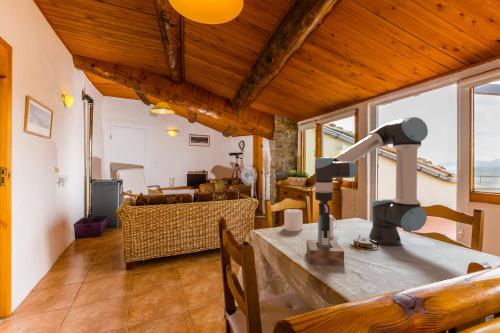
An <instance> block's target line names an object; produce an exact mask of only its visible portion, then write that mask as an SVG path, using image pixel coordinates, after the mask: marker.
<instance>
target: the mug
mask: <svg viewBox="0 0 500 333" xmlns="http://www.w3.org/2000/svg"><path fill="white" fill-rule="evenodd" d="M329 216H330V239H331V238H334V230H335V229H336V227H337V219H336V218H335V217H334V215H332V214H329ZM334 221H335V225H334Z"/></svg>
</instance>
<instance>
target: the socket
mask: <svg viewBox="0 0 500 333" xmlns="http://www.w3.org/2000/svg"><path fill="white" fill-rule="evenodd" d="M306 253H307V258H308V261H309V264H310V265H323V266H325V265H326V266H345V250H344V249H343V248H342V247H341V245H340V244H339V242H338V241H337V240H331V239H330V248H320V247H318V239H306Z"/></svg>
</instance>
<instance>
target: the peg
mask: <svg viewBox="0 0 500 333" xmlns="http://www.w3.org/2000/svg"><path fill="white" fill-rule="evenodd" d="M329 228H330V216H329ZM321 229H322V215H319V214H317V240H318V247H320V248H330V240H331V238H330V230H328V245H322V230H321Z"/></svg>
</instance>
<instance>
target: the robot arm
mask: <svg viewBox="0 0 500 333" xmlns="http://www.w3.org/2000/svg"><path fill="white" fill-rule="evenodd" d="M428 133H429V131H428V126H427V123H426V121H424V120H423V119H421V118H420V117H417V116H412V117H405V118H401V119H398V120H392V121H389V122H387V123H384V124H382V125H380V126H378V127H377V128H376V129H375V130H373V131H371V132H370V133H368V135H367V137H365V138H363V139H362V140H360V141H358V142H357V143H355V144H354V145H352V146H350V147H348V148H347V149H345V150H344V151H343V152H341V153H339V154H338V155H335V156H334V157H317V158H315V160H314V180H315V183H314V184H313V186H314V188H315V189H314V190H315V192H314V199H315V200H316V201H318V202H319V203H318V215H322V229H321V230H322V245H328V230H330V228H329V215H330V211H331V210H330V205H329V204H328V203H329V202H331V201H333V198H334V197H333V190H334V188H333V179H344V178H345V179H350V178H355V177H356V176H357V175H358V172H359V170H358V165H357V163H356V161H358V160H360V159H362V158H363V157H364V156H367V155H368V154H369V153H371V152H373V151H374V150H376V149H381V148H383V147H385V146H387V145H392V147H393V149H395V150H396V153H395V155H396V156H395V157H396V158H395V163H396V164H395V168H396V169H395V198H394V199H393V198H389V199H388V198H387V199H384V198H383V199H373V200H372V206H371V207H372V208H371V210H372V213H371V215H372V218H371V219H372V227H371V230H370V232H369V234H368V240H369V239H371V240H374V241H377V243H378V244H377V245H381V246H390V247H396V246H400V245H401V243H402V242H401V241H402V239H401V237H400V233H399V231H398V228H400V229H403V230H405V231H410V232H417V231H419V230H421V229H422V228H423V227H424V226H425V225H426V223H427V219H428V216H427V212H426V211H425V209H423V208H422V207H421V202H420V200H418V197H417V196H418V194H417V193H418V192H417V191H418V149H419V148H420V147H421V146H422V141H424V140H425V139H426V138H427V137H428Z"/></svg>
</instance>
